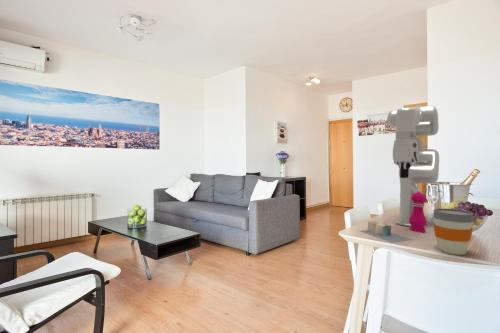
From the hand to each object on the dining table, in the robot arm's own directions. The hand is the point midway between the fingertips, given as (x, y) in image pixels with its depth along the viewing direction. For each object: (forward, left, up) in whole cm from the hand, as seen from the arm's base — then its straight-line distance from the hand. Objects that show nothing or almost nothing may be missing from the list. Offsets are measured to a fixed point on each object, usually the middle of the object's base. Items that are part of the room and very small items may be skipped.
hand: (404, 177), depth 127 cm
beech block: (+8, -1, -24) cm, 25 cm away
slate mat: (+8, -2, -26) cm, 28 cm away
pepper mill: (-14, -3, -26) cm, 30 cm away
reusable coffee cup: (0, +22, -26) cm, 34 cm away
